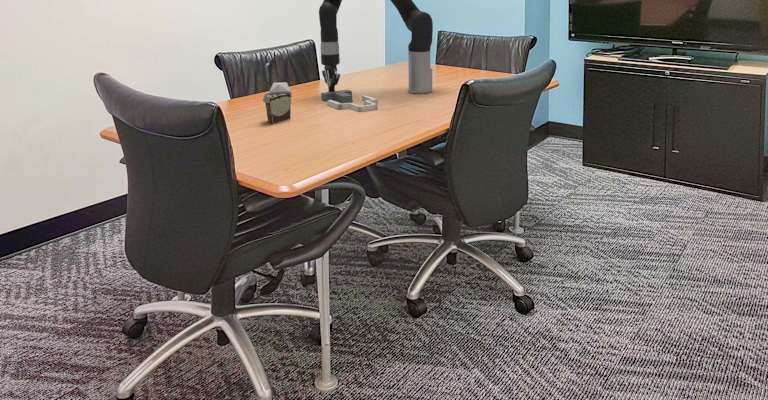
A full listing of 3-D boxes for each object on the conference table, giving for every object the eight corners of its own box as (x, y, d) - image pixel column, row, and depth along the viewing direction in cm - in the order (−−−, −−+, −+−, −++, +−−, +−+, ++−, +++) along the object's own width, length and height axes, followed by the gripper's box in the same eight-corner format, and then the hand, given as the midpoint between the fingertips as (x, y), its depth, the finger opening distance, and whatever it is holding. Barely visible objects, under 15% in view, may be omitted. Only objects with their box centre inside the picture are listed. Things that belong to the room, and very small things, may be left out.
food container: (280, 116, 280) (278, 89, 277) (293, 118, 277) (291, 91, 274) (257, 123, 271) (255, 95, 267) (270, 125, 267) (268, 97, 264)
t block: (347, 96, 314) (347, 89, 313) (361, 101, 304) (361, 94, 303) (321, 100, 308) (321, 92, 307) (334, 105, 298) (334, 97, 297)
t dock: (365, 100, 306) (365, 95, 305) (387, 108, 291) (387, 102, 290) (327, 105, 298) (327, 100, 297) (348, 113, 283) (348, 108, 283)
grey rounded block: (282, 107, 298) (295, 86, 299) (262, 96, 299) (275, 74, 299) (285, 111, 307) (297, 89, 307) (265, 100, 307) (278, 78, 307)
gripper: (345, 53, 304) (347, 96, 309) (331, 49, 315) (333, 91, 320) (328, 55, 300) (330, 98, 306) (314, 51, 311) (316, 93, 317)
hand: (331, 94), depth 313 cm, fingers closed
